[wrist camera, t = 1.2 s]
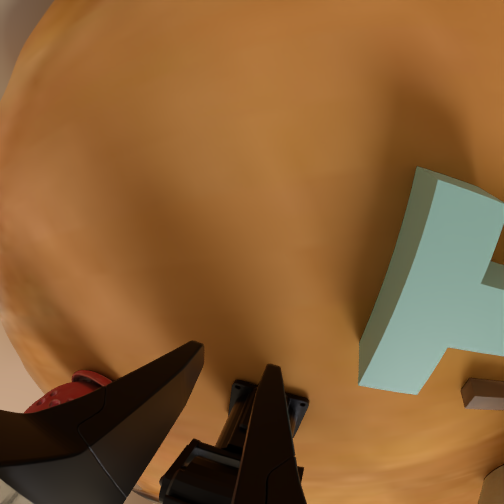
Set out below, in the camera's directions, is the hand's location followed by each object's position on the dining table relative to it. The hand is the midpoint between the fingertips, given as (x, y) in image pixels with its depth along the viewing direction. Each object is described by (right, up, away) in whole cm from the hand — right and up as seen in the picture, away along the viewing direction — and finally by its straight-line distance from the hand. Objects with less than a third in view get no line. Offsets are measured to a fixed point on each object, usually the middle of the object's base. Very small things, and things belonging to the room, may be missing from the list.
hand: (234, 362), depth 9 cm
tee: (+14, +1, +6) cm, 16 cm away
